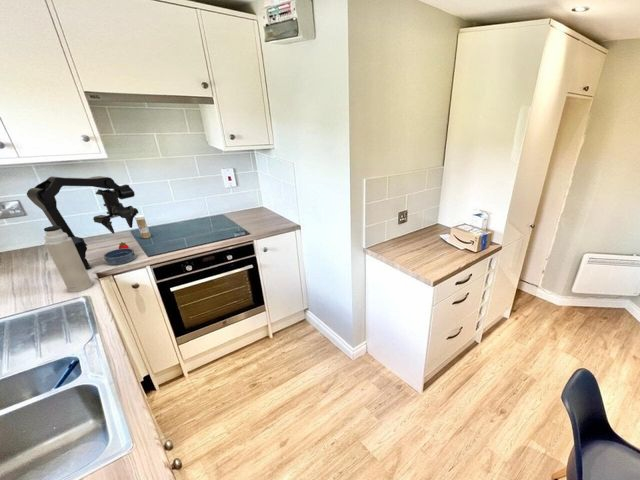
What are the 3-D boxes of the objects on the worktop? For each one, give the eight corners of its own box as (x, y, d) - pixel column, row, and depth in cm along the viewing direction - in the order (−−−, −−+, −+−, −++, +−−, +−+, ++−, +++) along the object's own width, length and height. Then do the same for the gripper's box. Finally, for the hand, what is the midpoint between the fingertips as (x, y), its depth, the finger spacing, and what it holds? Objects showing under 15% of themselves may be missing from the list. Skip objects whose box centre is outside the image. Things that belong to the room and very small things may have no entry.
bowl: (115, 267, 158) (112, 260, 157) (100, 262, 162) (97, 255, 161) (141, 257, 169) (139, 251, 167) (127, 253, 173) (124, 246, 171)
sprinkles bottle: (140, 239, 190) (132, 217, 184) (143, 236, 194) (136, 214, 188) (149, 238, 192) (142, 216, 185) (152, 235, 195) (145, 214, 189)
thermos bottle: (63, 290, 138) (31, 230, 126) (81, 281, 145) (53, 223, 133) (79, 292, 138) (49, 231, 125) (97, 283, 145) (70, 224, 132)
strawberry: (123, 254, 172) (119, 244, 169) (118, 252, 173) (114, 242, 171) (132, 251, 175) (128, 241, 173) (127, 249, 177) (123, 239, 174)
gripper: (104, 208, 153) (116, 238, 160) (141, 198, 169) (151, 226, 176) (86, 205, 156) (99, 235, 163) (125, 196, 172) (135, 224, 179)
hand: (122, 230), depth 170 cm, fingers open, 9 cm apart
